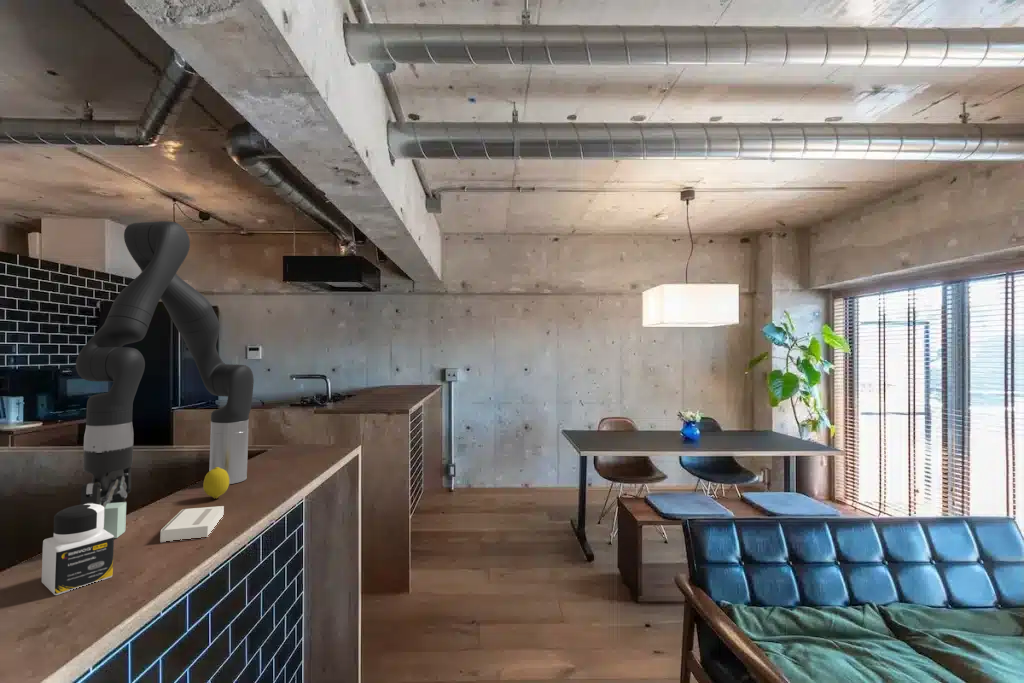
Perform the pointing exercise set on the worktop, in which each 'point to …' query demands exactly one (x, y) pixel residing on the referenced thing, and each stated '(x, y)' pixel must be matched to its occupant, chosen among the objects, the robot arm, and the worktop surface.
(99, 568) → the medicine bottle
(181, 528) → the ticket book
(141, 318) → the robot arm
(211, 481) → the lemon
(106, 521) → the pale green block
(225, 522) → the worktop surface
